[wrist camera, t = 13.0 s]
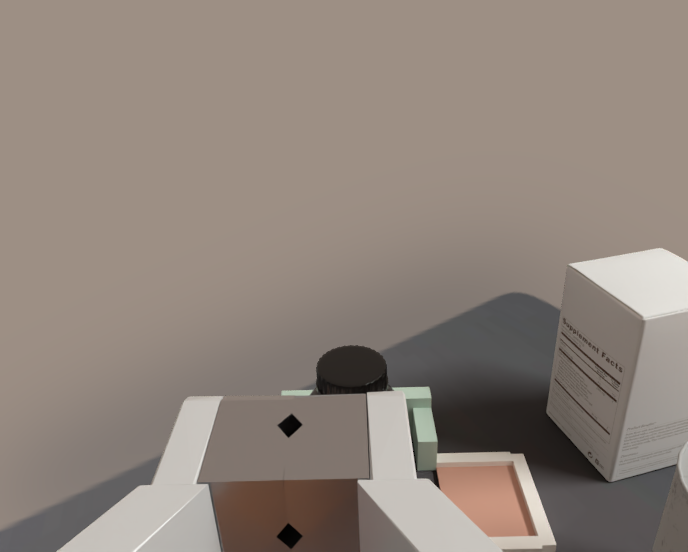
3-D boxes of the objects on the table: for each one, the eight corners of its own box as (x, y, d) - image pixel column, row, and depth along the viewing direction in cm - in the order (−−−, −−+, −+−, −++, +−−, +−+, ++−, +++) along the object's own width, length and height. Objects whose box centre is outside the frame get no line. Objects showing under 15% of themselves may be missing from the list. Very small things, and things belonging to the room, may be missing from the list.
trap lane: (636, 779, 29) (652, 735, 27) (98, 787, 30) (79, 745, 28) (507, 421, 52) (512, 384, 51) (206, 429, 53) (200, 393, 51)
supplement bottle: (296, 481, 47) (283, 355, 42) (368, 447, 50) (365, 325, 45) (341, 544, 42) (333, 409, 36) (419, 501, 45) (422, 371, 39)
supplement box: (629, 391, 55) (662, 244, 49) (705, 459, 48) (758, 295, 41) (541, 411, 53) (564, 260, 47) (606, 485, 46) (644, 317, 39)
